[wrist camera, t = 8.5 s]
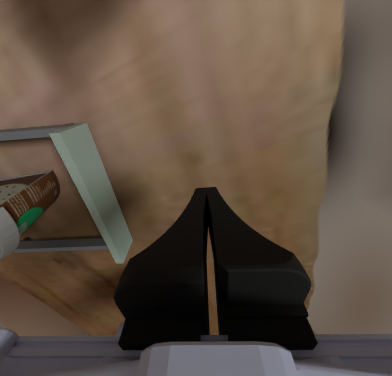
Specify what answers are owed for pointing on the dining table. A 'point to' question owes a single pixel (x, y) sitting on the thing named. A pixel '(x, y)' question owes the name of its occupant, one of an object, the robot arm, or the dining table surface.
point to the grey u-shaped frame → (81, 190)
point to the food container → (23, 205)
